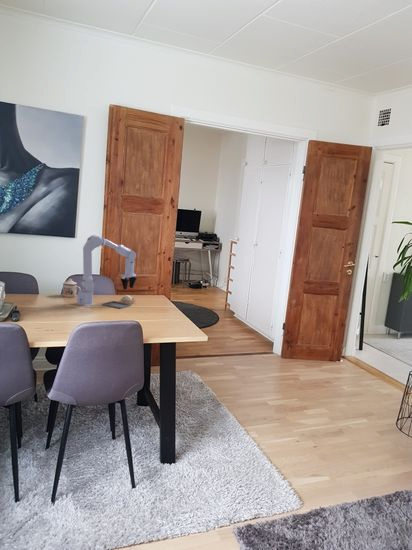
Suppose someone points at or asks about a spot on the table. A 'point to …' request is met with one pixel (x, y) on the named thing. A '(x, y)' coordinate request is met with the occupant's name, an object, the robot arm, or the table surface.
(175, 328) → the table surface
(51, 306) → the table surface
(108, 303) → the parts tray
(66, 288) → the teacup with lid
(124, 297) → the bowl
